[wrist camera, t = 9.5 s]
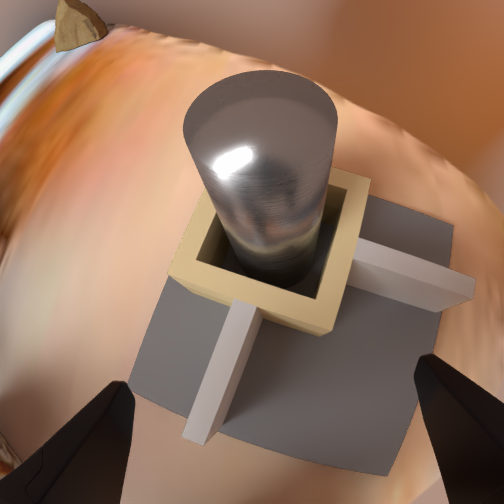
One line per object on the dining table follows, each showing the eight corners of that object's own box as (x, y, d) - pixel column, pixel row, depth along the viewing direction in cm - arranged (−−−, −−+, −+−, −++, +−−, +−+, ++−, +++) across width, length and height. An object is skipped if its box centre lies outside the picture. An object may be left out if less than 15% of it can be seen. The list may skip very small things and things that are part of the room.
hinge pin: (299, 299, 20) (314, 196, 8) (227, 274, 21) (155, 156, 9) (322, 231, 21) (349, 85, 9) (255, 211, 22) (222, 64, 11)
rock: (121, 14, 35) (97, 4, 36) (80, 1, 27) (61, -7, 29) (90, 70, 40) (70, 53, 41) (48, 64, 32) (33, 48, 34)
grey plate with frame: (383, 471, 16) (413, 504, 10) (132, 386, 20) (85, 392, 14) (447, 230, 21) (485, 195, 16) (226, 162, 25) (211, 112, 19)
